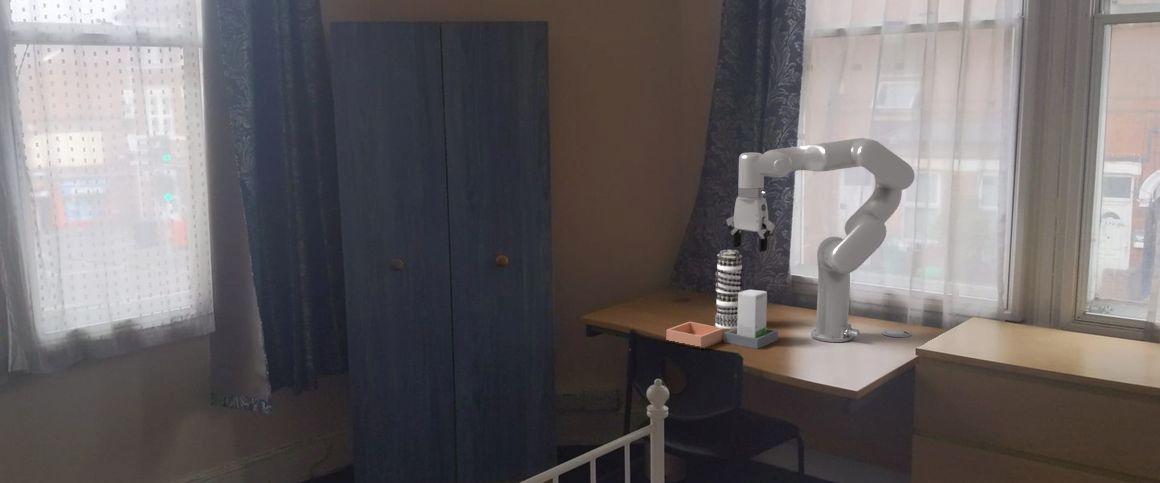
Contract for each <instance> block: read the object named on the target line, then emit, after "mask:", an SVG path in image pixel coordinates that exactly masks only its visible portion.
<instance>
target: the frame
mask: <svg viewBox="0 0 1160 483" xmlns="http://www.w3.org/2000/svg"><path fill="white" fill-rule="evenodd" d="M776 341H779V330H777V329H771V328H767V327H766V335H763V336H761V337H759V338H752V337H747V336H742V335H737V328H735V329H729V330H727V331H725V332H724V336H723V343H726V344H727V343H728V344H731V345H735V346H740V347H744V348H750V349H754V350H759V349H762V348H763V347H765V346H768V345H770V344H772V343H775V342H776Z"/></svg>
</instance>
